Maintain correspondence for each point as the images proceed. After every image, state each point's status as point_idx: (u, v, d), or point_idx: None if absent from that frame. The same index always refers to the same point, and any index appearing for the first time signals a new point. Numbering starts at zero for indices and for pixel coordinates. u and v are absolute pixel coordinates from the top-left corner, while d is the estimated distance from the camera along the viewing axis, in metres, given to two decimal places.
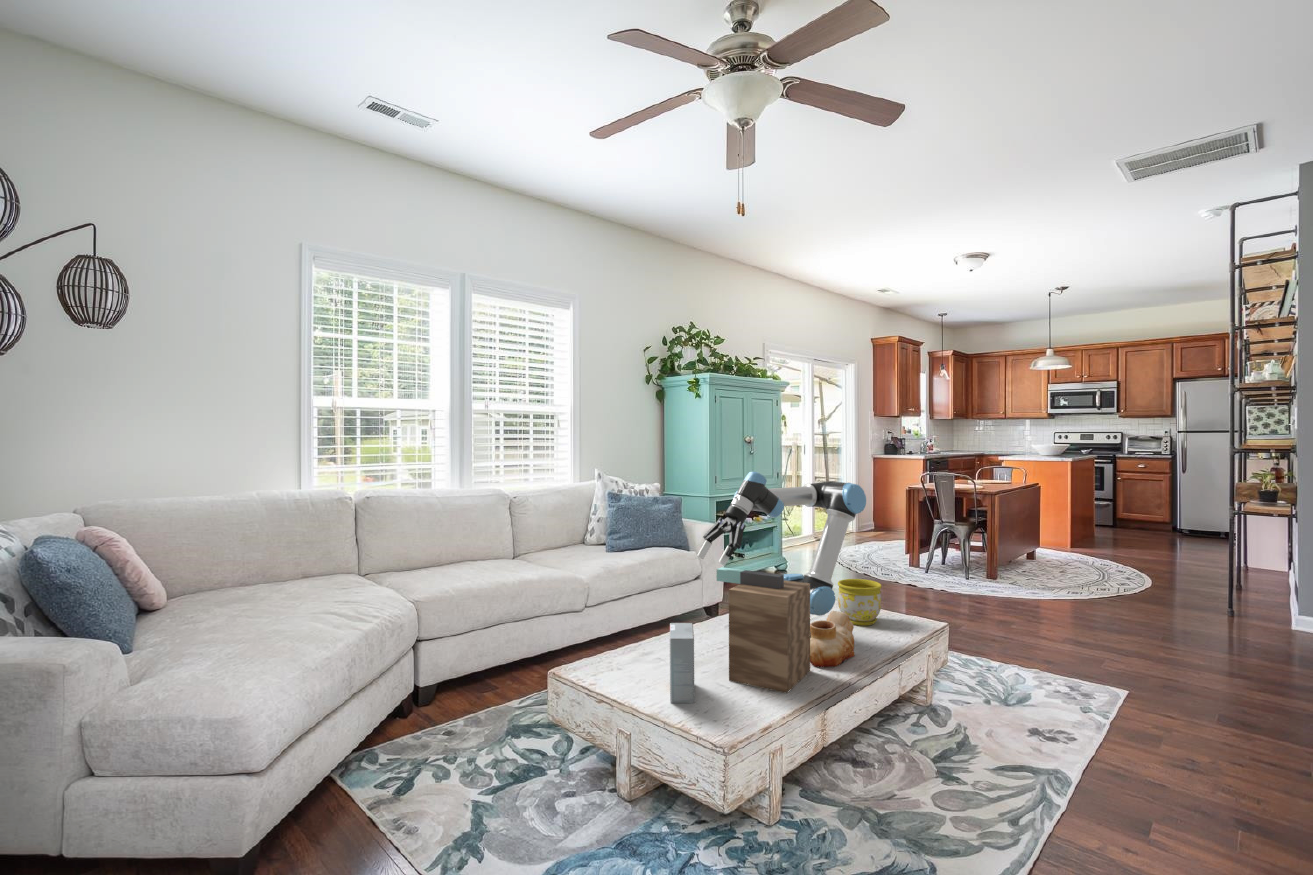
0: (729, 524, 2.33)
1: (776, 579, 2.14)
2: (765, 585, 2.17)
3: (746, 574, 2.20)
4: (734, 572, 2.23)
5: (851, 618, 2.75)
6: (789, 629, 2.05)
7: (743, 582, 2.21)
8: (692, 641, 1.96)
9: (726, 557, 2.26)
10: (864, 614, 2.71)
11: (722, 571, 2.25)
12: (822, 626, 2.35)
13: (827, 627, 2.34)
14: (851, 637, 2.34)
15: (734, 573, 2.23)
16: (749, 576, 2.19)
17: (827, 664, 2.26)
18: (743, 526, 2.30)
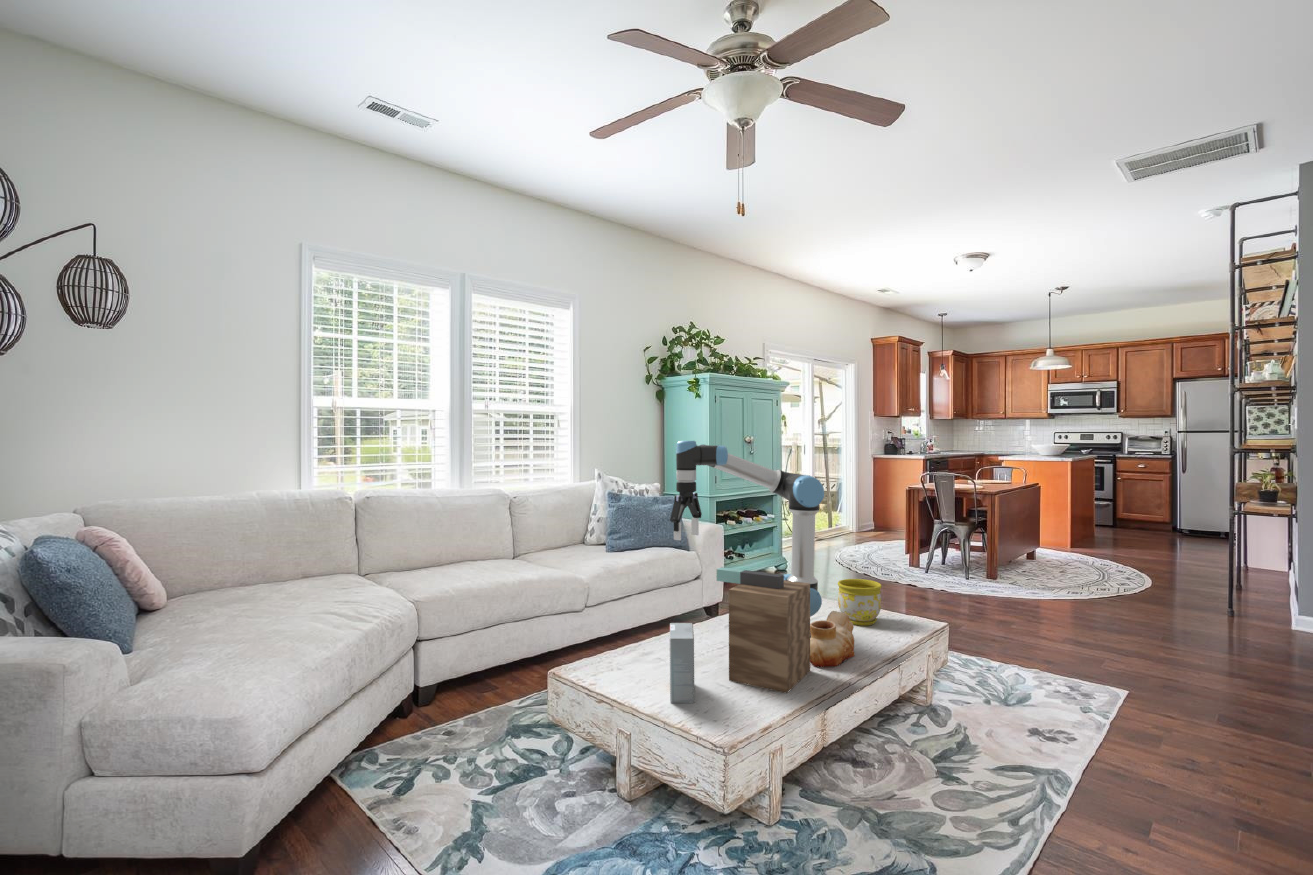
0: None
1: (776, 579, 2.14)
2: (765, 585, 2.17)
3: (746, 574, 2.20)
4: (734, 572, 2.23)
5: (851, 618, 2.75)
6: (789, 629, 2.05)
7: (743, 582, 2.21)
8: (692, 641, 1.96)
9: (677, 532, 2.40)
10: (864, 614, 2.71)
11: (722, 571, 2.25)
12: (822, 626, 2.35)
13: (827, 627, 2.34)
14: (851, 637, 2.34)
15: (734, 573, 2.23)
16: (749, 576, 2.19)
17: (827, 664, 2.26)
18: (678, 498, 2.40)
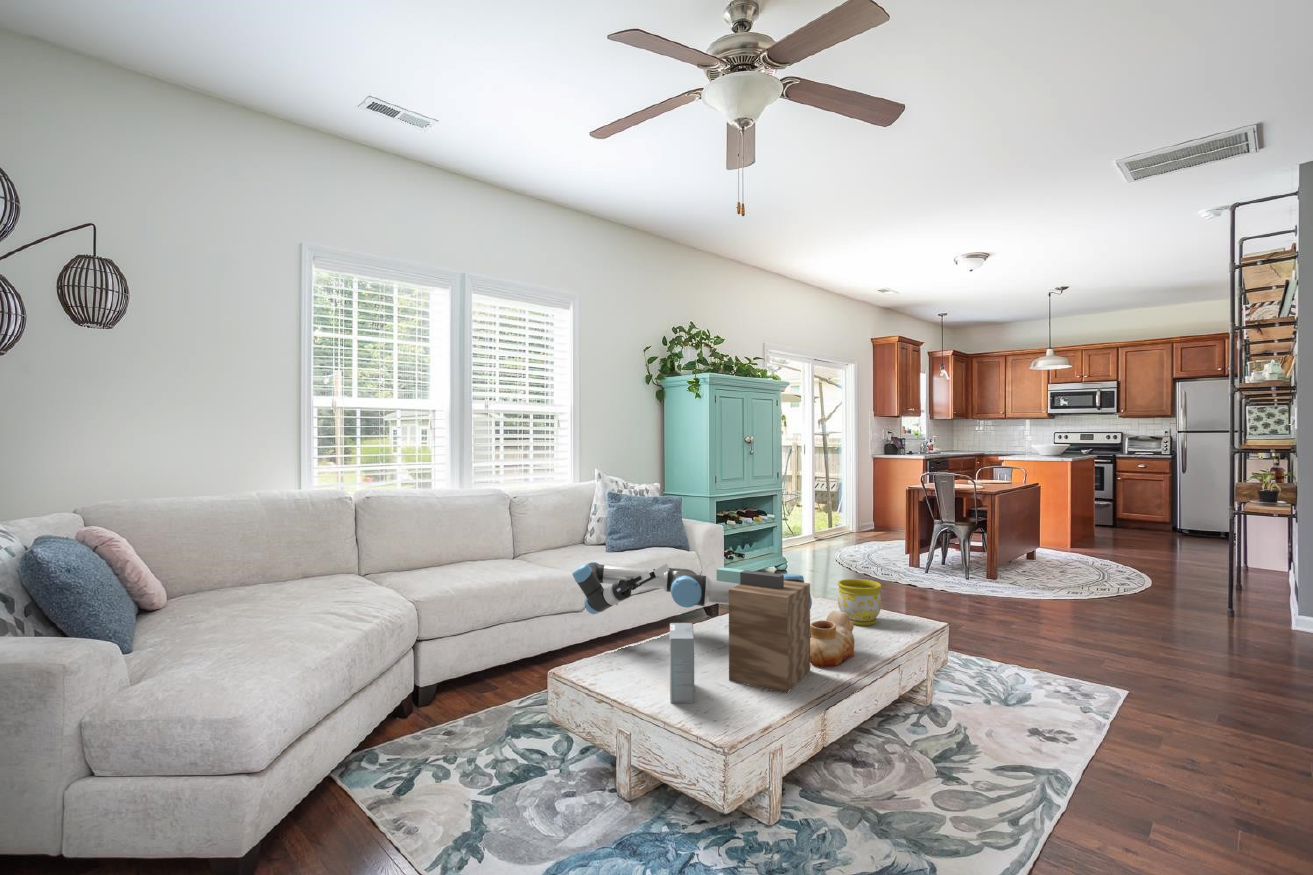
0: (630, 590, 2.47)
1: (776, 579, 2.14)
2: (765, 585, 2.17)
3: (746, 574, 2.20)
4: (734, 572, 2.23)
5: (851, 618, 2.75)
6: (789, 629, 2.05)
7: (743, 582, 2.21)
8: (692, 641, 1.96)
9: (642, 576, 2.38)
10: (864, 614, 2.71)
11: (722, 571, 2.25)
12: (822, 626, 2.35)
13: (827, 627, 2.34)
14: (851, 637, 2.34)
15: (734, 573, 2.23)
16: (749, 576, 2.19)
17: (827, 664, 2.26)
18: (617, 588, 2.44)
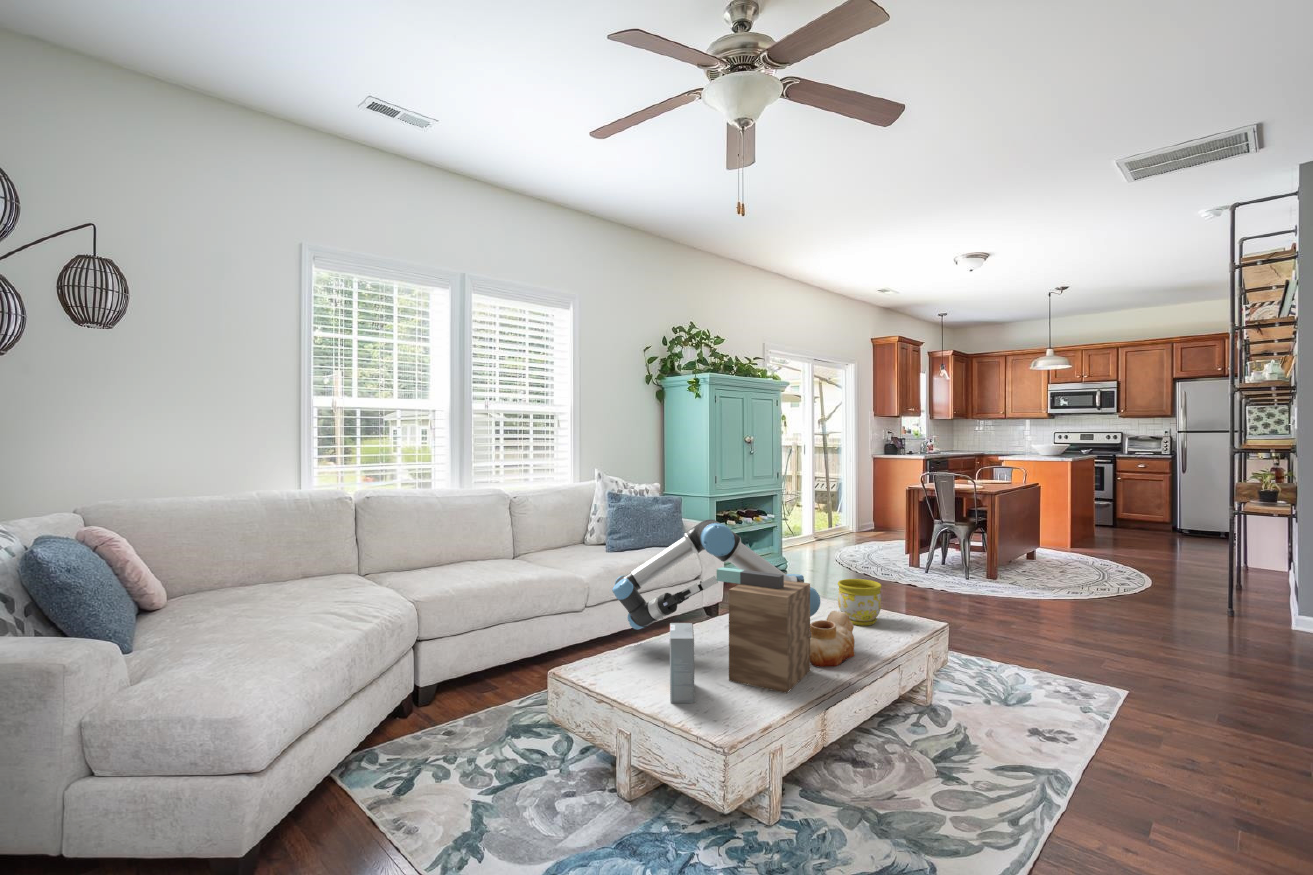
0: (676, 604, 2.34)
1: (776, 579, 2.14)
2: (765, 585, 2.17)
3: (746, 574, 2.20)
4: (734, 572, 2.23)
5: (851, 618, 2.75)
6: (789, 629, 2.05)
7: (743, 582, 2.21)
8: (692, 641, 1.96)
9: (691, 589, 2.25)
10: (864, 614, 2.71)
11: (722, 571, 2.25)
12: (822, 626, 2.35)
13: (827, 627, 2.34)
14: (851, 637, 2.34)
15: (734, 573, 2.23)
16: (749, 576, 2.19)
17: (827, 664, 2.26)
18: (664, 603, 2.31)
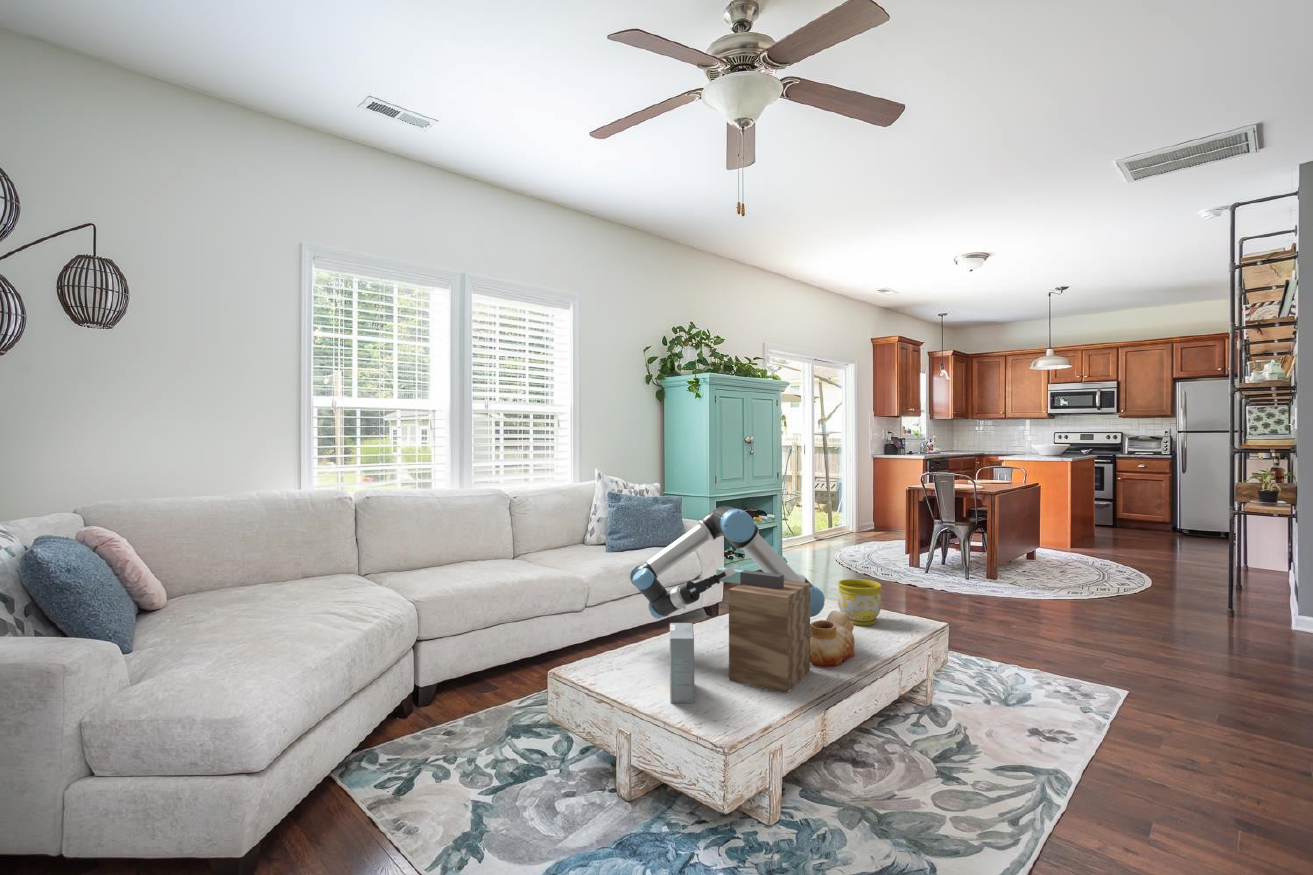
0: (701, 592, 2.30)
1: (776, 579, 2.14)
2: (765, 585, 2.17)
3: (746, 574, 2.20)
4: None
5: (851, 618, 2.75)
6: (789, 629, 2.05)
7: (743, 582, 2.21)
8: (692, 641, 1.96)
9: (726, 572, 2.23)
10: (864, 614, 2.71)
11: None
12: (822, 626, 2.35)
13: (827, 627, 2.35)
14: (851, 637, 2.34)
15: None
16: (749, 576, 2.19)
17: (827, 664, 2.26)
18: (692, 589, 2.26)
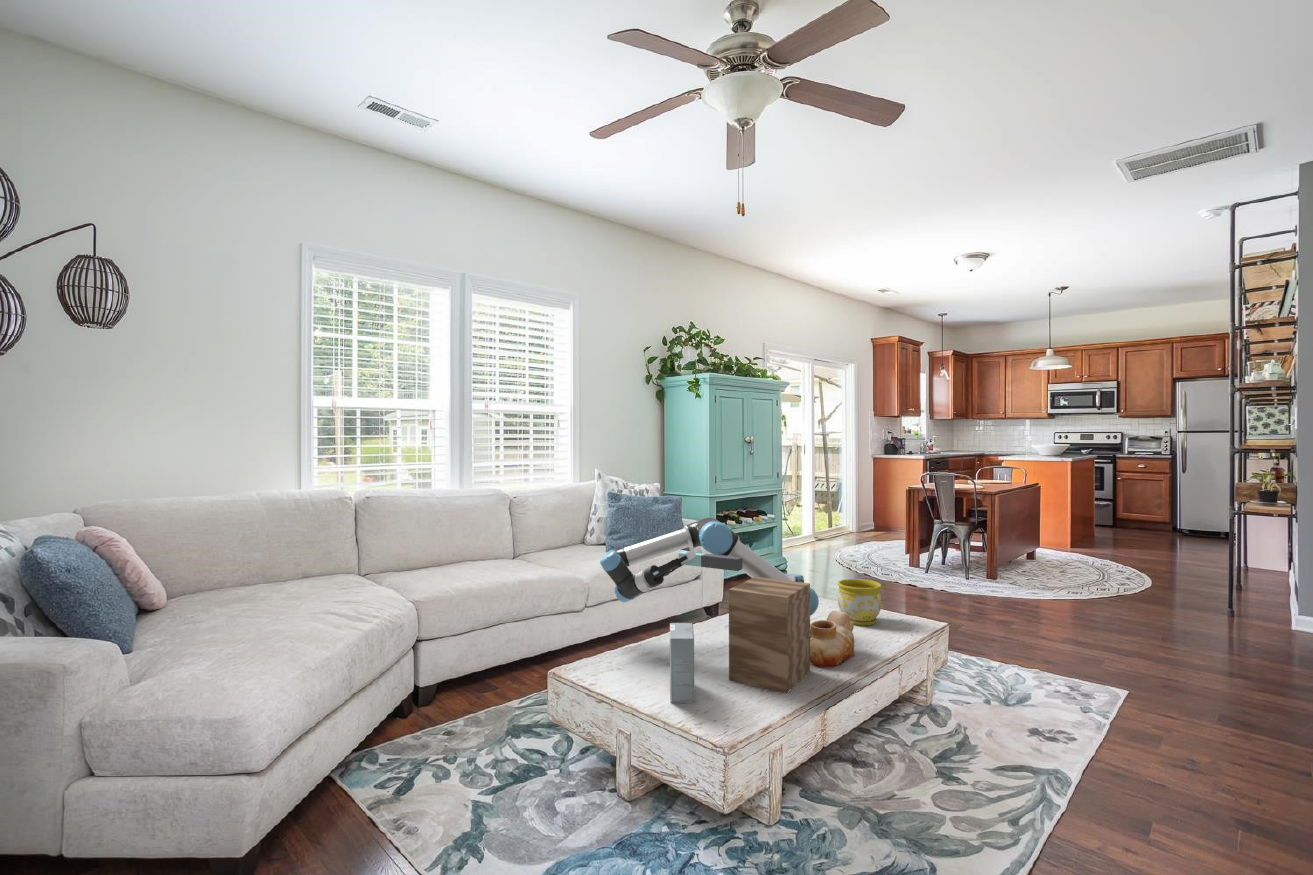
0: (664, 575, 2.37)
1: (735, 562, 2.21)
2: (724, 568, 2.23)
3: (706, 557, 2.27)
4: None
5: (851, 618, 2.75)
6: (789, 629, 2.05)
7: (704, 565, 2.28)
8: (692, 641, 1.96)
9: (687, 555, 2.30)
10: (864, 614, 2.71)
11: None
12: (822, 626, 2.35)
13: (827, 627, 2.35)
14: (851, 637, 2.34)
15: None
16: (709, 559, 2.26)
17: (828, 664, 2.26)
18: (655, 572, 2.33)
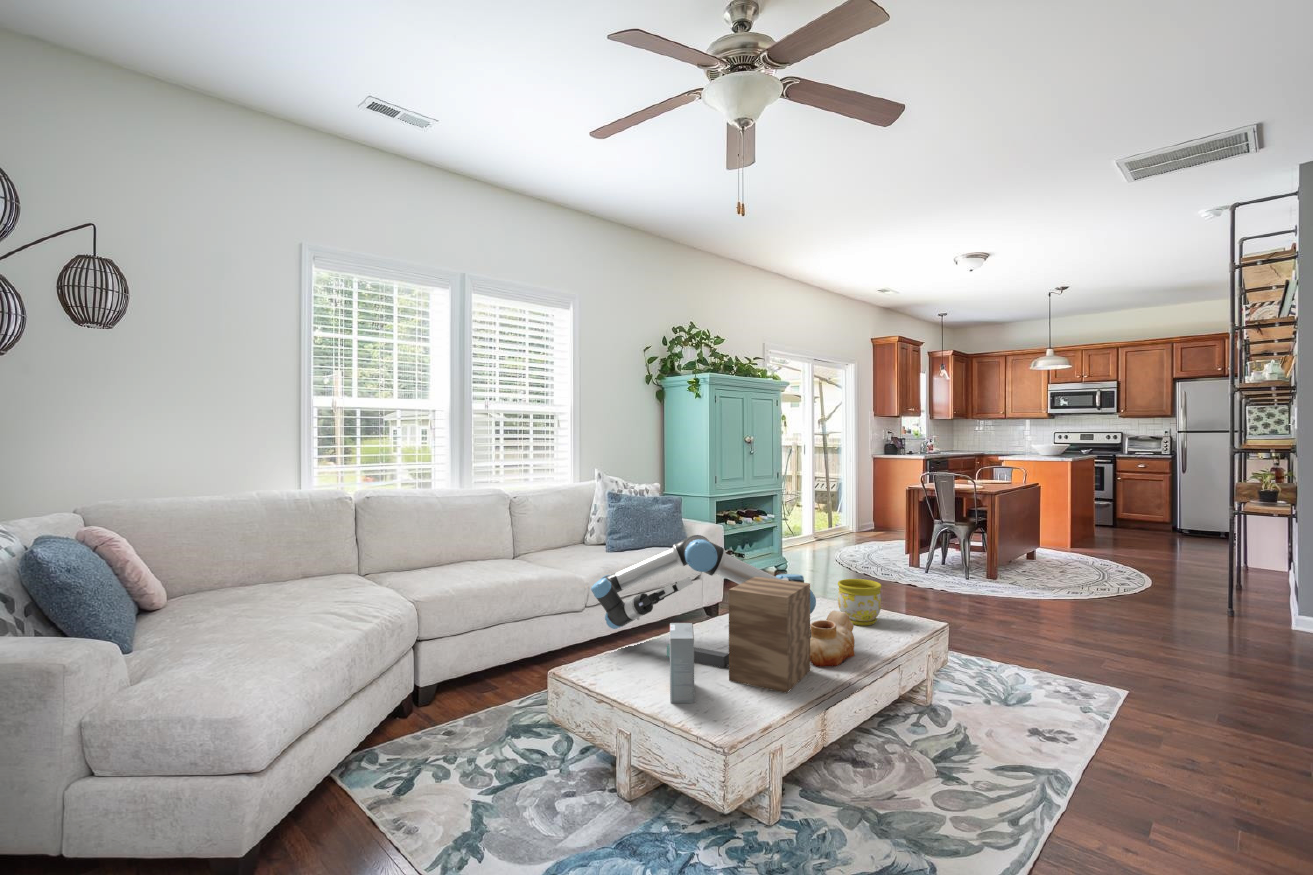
0: (652, 604, 2.40)
1: (721, 659, 2.25)
2: (711, 664, 2.28)
3: (694, 652, 2.31)
4: None
5: (851, 618, 2.75)
6: (789, 629, 2.05)
7: None
8: (692, 641, 1.96)
9: (665, 590, 2.31)
10: (864, 614, 2.71)
11: None
12: (822, 626, 2.36)
13: (827, 627, 2.35)
14: (851, 637, 2.34)
15: None
16: (697, 654, 2.31)
17: (828, 664, 2.26)
18: (640, 603, 2.37)
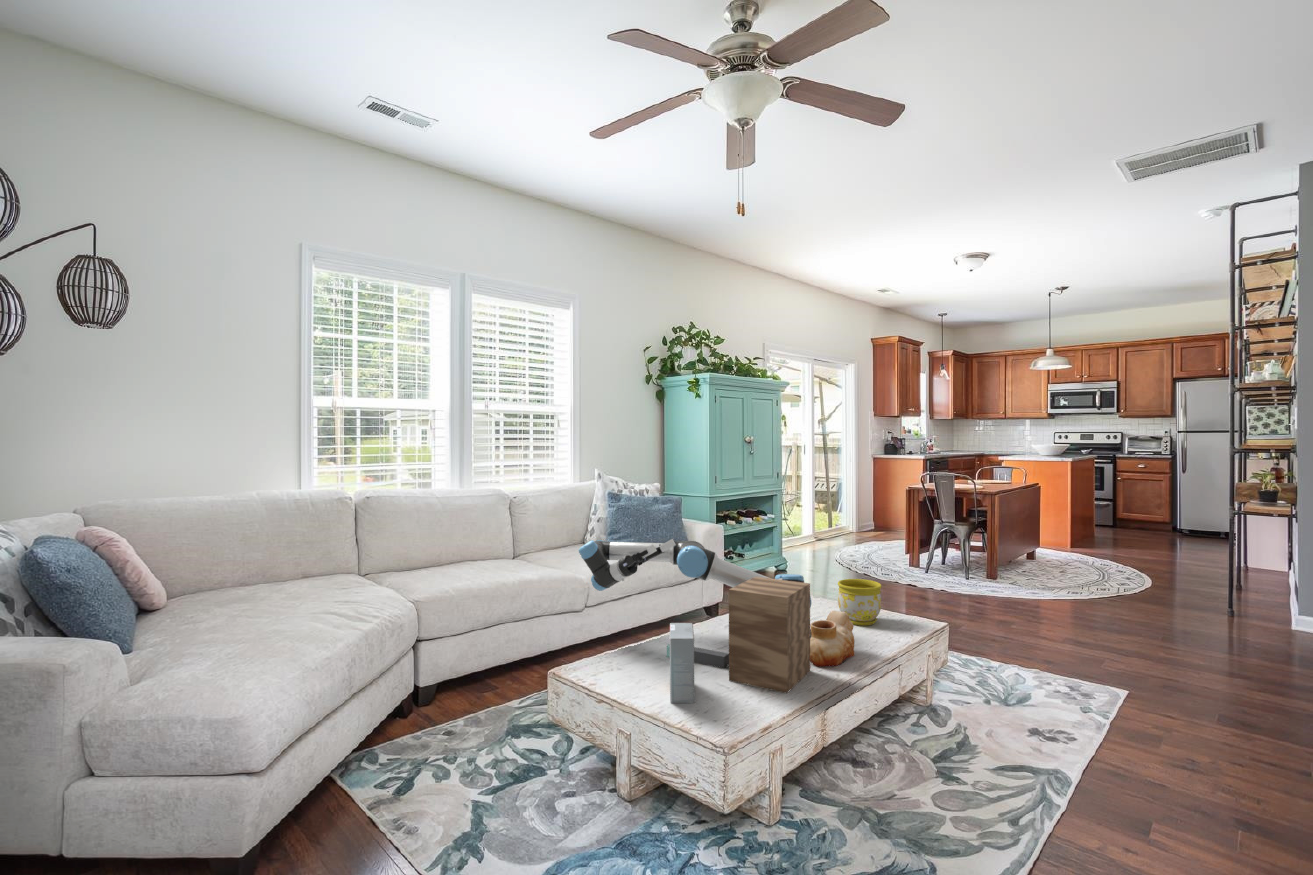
0: (636, 565, 2.48)
1: (721, 659, 2.25)
2: (711, 664, 2.28)
3: (694, 652, 2.31)
4: None
5: (851, 618, 2.75)
6: (789, 629, 2.05)
7: None
8: (692, 641, 1.96)
9: (648, 550, 2.38)
10: (864, 614, 2.71)
11: None
12: (822, 626, 2.36)
13: (827, 627, 2.35)
14: (851, 637, 2.34)
15: None
16: (697, 654, 2.31)
17: (828, 664, 2.26)
18: (624, 563, 2.45)
